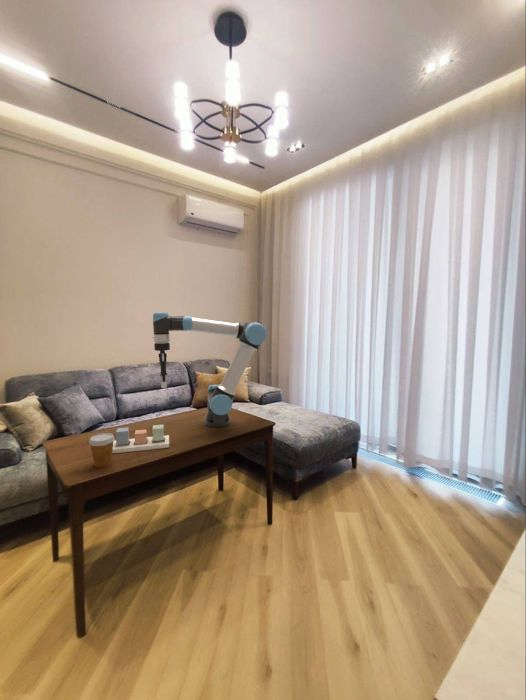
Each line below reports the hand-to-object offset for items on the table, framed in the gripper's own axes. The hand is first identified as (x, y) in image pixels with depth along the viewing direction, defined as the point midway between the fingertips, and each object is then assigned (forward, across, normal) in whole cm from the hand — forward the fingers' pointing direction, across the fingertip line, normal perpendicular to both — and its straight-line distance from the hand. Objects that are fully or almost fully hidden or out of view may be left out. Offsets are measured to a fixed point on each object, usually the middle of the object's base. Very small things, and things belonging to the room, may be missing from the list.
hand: (164, 387), depth 158 cm
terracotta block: (+24, +11, -12) cm, 29 cm away
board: (+26, +11, -12) cm, 30 cm away
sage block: (+23, +11, -4) cm, 26 cm away
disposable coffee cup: (+25, +26, -27) cm, 45 cm away
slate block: (+22, +11, -20) cm, 32 cm away
